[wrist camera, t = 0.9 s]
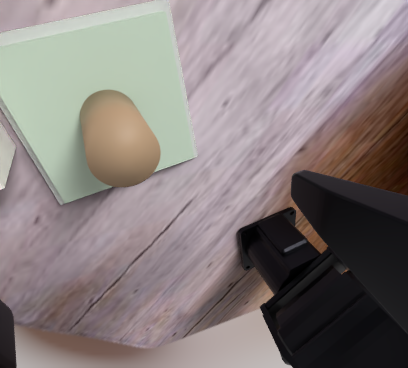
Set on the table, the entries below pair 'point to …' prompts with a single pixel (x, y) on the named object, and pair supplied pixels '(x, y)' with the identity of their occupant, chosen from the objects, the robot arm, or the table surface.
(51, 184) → the mat
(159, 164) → the lid
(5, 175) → the white open tray
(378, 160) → the table surface
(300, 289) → the robot arm
